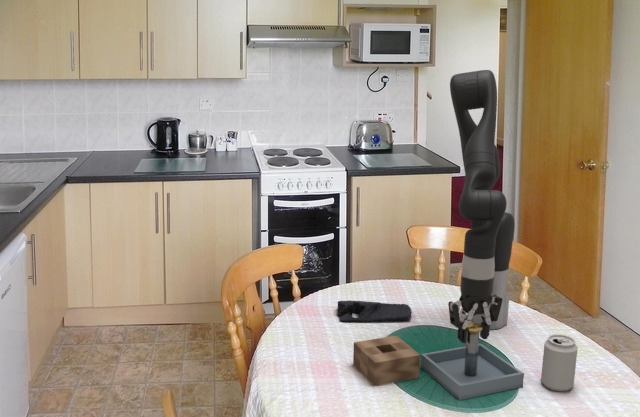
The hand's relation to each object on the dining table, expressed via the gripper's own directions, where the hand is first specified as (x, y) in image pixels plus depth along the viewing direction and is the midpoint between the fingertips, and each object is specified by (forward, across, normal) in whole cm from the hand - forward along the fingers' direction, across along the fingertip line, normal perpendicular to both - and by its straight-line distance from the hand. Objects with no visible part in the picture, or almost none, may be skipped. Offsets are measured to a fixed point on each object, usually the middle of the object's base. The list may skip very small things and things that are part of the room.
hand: (472, 339), depth 175 cm
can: (+10, -17, +11) cm, 23 cm away
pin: (+9, 0, 0) cm, 9 cm away
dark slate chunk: (+10, +4, -44) cm, 45 cm away
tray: (+10, 0, 0) cm, 10 cm away
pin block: (+10, +18, -10) cm, 23 cm away
